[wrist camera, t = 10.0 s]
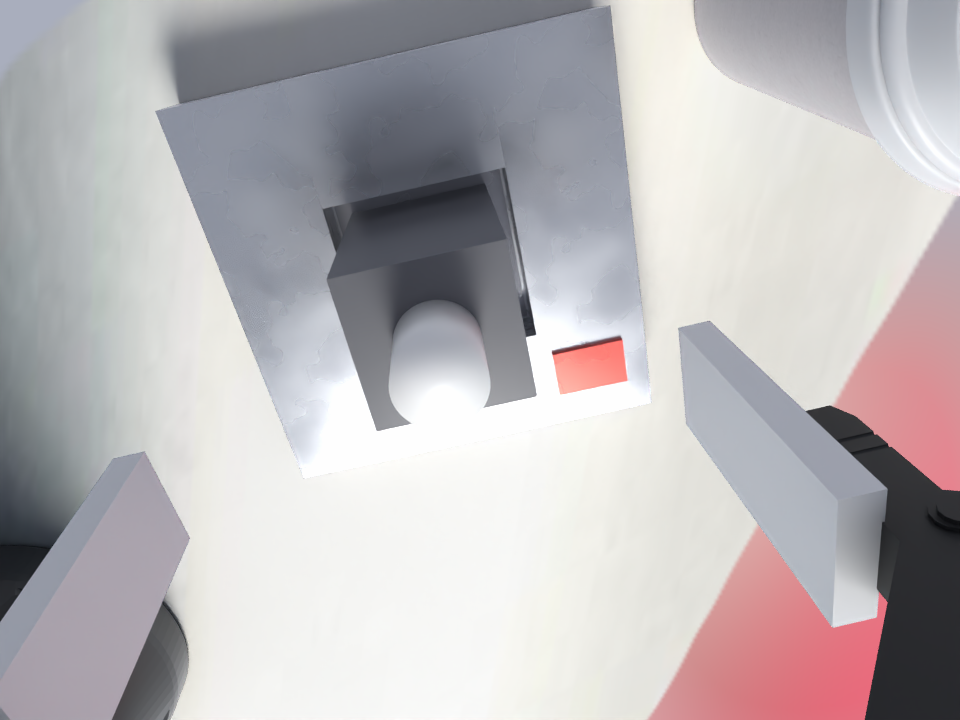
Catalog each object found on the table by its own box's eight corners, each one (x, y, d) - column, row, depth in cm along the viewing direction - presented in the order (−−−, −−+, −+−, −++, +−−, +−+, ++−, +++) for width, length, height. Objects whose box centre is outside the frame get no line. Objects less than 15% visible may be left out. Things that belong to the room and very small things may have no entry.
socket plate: (311, 447, 33) (303, 481, 30) (179, 103, 25) (153, 111, 23) (636, 376, 32) (653, 405, 30) (593, 7, 25) (611, 5, 23)
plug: (387, 334, 30) (370, 486, 20) (351, 213, 27) (311, 318, 17) (509, 307, 29) (553, 446, 20) (484, 183, 27) (519, 271, 17)
